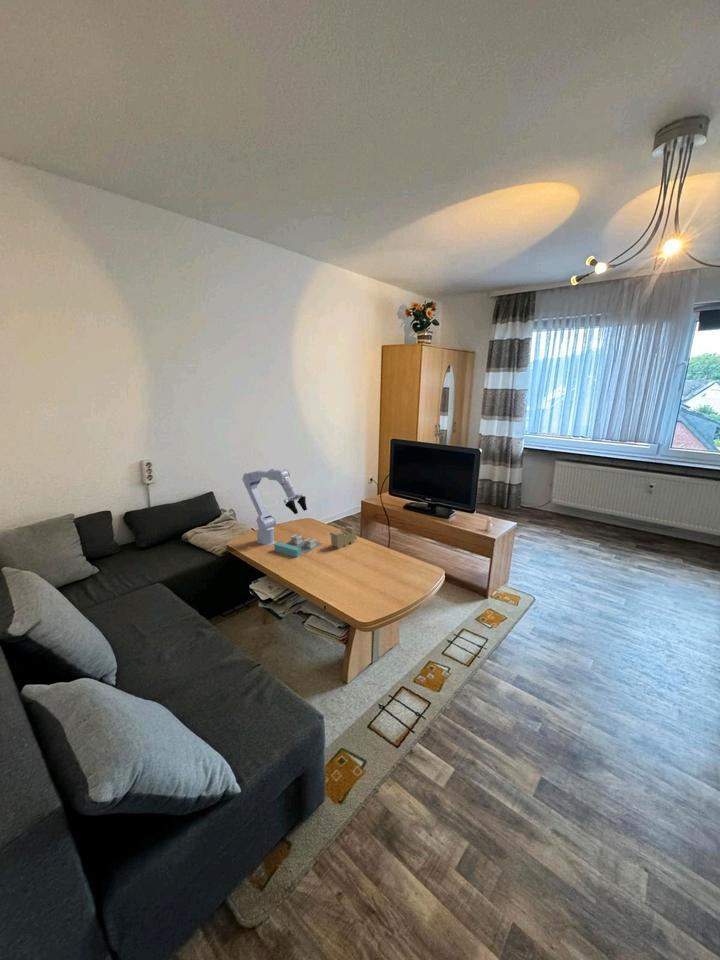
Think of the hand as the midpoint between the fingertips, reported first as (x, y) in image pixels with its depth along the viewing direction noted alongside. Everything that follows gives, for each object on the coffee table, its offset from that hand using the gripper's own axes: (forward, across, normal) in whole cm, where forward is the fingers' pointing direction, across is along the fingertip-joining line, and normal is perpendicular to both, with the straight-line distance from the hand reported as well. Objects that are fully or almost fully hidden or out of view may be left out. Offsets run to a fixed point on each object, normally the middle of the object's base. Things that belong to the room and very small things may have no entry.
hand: (301, 511), depth 207 cm
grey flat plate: (+16, +10, +21) cm, 28 cm away
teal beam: (+16, -2, +22) cm, 27 cm away
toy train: (+27, +25, +5) cm, 37 cm away
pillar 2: (+18, +12, +17) cm, 27 cm away
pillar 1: (+12, +12, +25) cm, 30 cm away
